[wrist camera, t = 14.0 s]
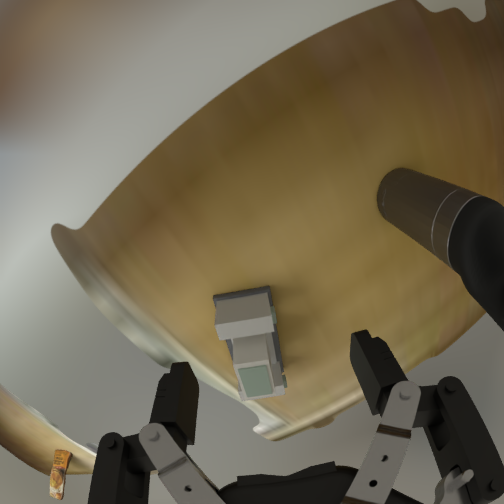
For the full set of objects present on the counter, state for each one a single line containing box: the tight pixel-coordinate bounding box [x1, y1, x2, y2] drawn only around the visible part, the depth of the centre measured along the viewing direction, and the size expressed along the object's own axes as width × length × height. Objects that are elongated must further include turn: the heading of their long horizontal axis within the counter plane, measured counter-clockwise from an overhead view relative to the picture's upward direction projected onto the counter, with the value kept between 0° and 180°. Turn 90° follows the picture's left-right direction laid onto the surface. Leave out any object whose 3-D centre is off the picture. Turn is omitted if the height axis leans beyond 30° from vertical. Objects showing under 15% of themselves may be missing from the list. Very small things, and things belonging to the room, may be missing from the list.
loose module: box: [233, 333, 276, 400], centre depth 42 cm, size 5×9×9 cm, turn 10°
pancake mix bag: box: [50, 450, 72, 500], centre depth 66 cm, size 7×19×28 cm, turn 119°
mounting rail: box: [213, 286, 287, 401], centre depth 44 cm, size 9×20×7 cm, turn 10°
